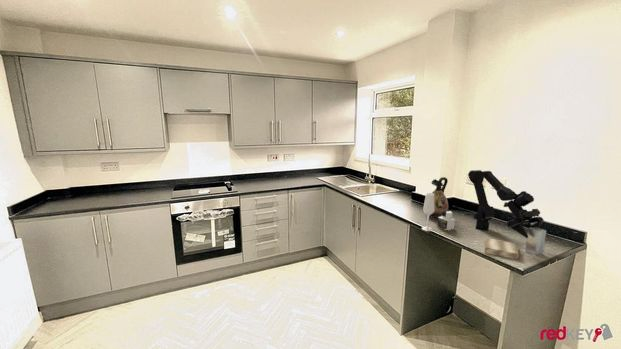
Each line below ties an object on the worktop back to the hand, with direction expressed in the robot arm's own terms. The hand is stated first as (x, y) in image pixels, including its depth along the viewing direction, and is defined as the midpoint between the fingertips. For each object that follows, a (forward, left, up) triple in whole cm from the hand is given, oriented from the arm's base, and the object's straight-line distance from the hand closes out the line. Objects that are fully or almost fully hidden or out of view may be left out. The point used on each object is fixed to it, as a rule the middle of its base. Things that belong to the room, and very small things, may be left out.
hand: (534, 236), depth 135 cm
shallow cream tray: (-14, -8, -8) cm, 18 cm away
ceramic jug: (-50, +33, -9) cm, 61 cm away
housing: (+1, -1, -8) cm, 8 cm away
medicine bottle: (-42, +11, -9) cm, 45 cm away
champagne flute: (-52, +3, -9) cm, 53 cm away
